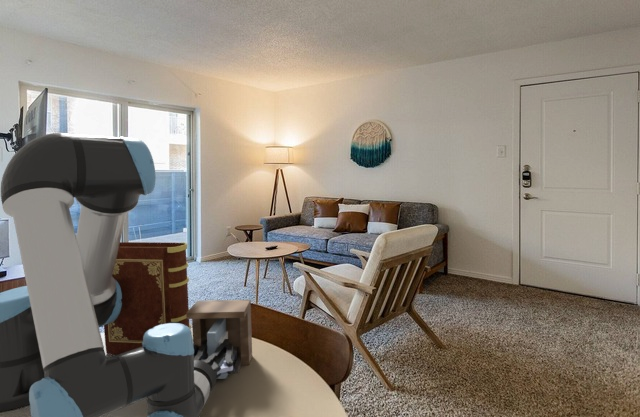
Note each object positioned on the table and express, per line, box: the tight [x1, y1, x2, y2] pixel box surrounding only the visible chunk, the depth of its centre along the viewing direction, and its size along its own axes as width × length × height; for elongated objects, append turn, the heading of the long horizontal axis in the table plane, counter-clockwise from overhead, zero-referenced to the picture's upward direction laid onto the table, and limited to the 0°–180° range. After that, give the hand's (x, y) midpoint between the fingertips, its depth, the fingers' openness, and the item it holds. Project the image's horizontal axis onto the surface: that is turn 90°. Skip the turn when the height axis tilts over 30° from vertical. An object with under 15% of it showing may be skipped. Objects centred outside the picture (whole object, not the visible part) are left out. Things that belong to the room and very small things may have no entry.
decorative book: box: [103, 241, 192, 355], centre depth 105 cm, size 22×8×30 cm, turn 83°
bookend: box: [207, 318, 235, 380], centre depth 93 cm, size 6×10×11 cm, turn 1°
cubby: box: [186, 299, 253, 374], centre depth 97 cm, size 14×9×16 cm, turn 91°
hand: (220, 336), depth 97 cm, fingers closed on bookend, 2 cm apart
